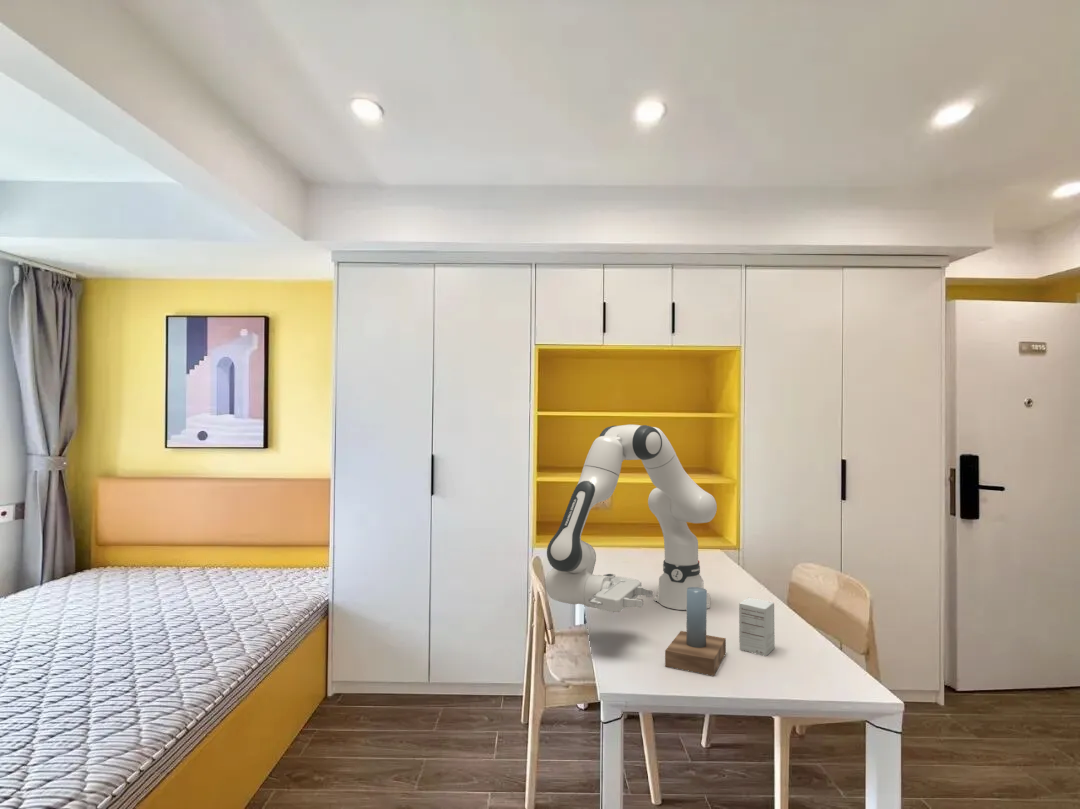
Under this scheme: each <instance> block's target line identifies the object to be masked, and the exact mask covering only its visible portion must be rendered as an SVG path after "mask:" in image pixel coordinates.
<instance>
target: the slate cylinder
mask: <svg viewBox="0 0 1080 809" xmlns="http://www.w3.org/2000/svg"><path fill="white" fill-rule="evenodd" d="M707 593H708V590H707V589H706V588H699V587H689V588H687V610H686V631H685V632H686V644H687V645H689V646H691V647H695V648H703V647H705V646H706V635H707V614H708V613H707V610H708V608H707Z"/></svg>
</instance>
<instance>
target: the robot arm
mask: <svg viewBox="0 0 1080 809" xmlns="http://www.w3.org/2000/svg"><path fill="white" fill-rule="evenodd" d="M624 460H625V461H631V460H632V461H635V460H636V461H638V460H641V463H642V464H643V467H644V469H645V471H646V473H647V475H648V477H649V478H650V481H651V483H652V485H654V486H655V488H653V489H652V490H651V491H650V493H649V495H648V499H647V504H648V505H647V506H648V508H649V511H651V513H652V514H653V515H654V516H655V518H656V519H657V521H658V524H659V526H660V529H661V532H662V536H663V545H664V560H663V562H662V571H663V573H662V574H661V575H660V576H659V577H658V589H657V590H658V592H657V595H655V596H654V593H655V592H654V590H653V589H649V588H646V587H643V586H642V581H640V580H639V579H634V578H632V577H631V578H630V577H625V576H616V574H615V573H606V574H603V575H602V574H593V572H594V570H595V565H596V561H597V554H596V551H595V548H594V547H593V546H592V545H591V544H590V543H588V542H586V541H584V540H582V533H583V529H584V527H585V525H586V522H587V519H588V516H589V513H590V511H591V510H592V508H593V507H594V506H595V505H597V504H598V503H601V502H604V501H607V500H608V499H610V498H611V497H612V495H613V493H614V492H615V490H616V487H617V485H618V482H619V477H620V474H621V470H622V463H623V461H624ZM717 506H718V505H717V501H716V499H715V497H714V496H713V495H712V494H711V493H709V492H708V491H706V490H704V489H703V488H702V487H700V486H699V485H698V484H697V483H696V482H695V481H694V479H692V477H691V476H689V474H688V473H687V472H686V471H685V469H684V467H683V465H682V463H681V462H680V459H679V457H678V456H677V453H676V451H675V449H674V447H673V445H672V444H671V442H670V440H669V439H668V437H667V435H665V433H664V431H662V430H661V429H660V428H659V427H656V426H651V425H646V424H644V425H643V424H641V425H639V424H623V425H611V426H607V427H605V428H604V429H603V430H602V431H601V433H600V434H599V436H598V437H596V438H595V440H594V441H593V442H592V444H591V446H590V449H589V450H588V453H587V455H586V458H585V461H584V464H583V467H582V470H581V474H580V477H579V480H578V483H577V485H576V486H575V488H574V490H573V492H572V494H571V496H570V500H569V502H568V505H567V508H566V510H565V512H564V515H563V517H562V520H561V522H560V526H559V527H558V530H557V531H556V532H555V534H554V535H553V537H552V538H551V539H550V541H549V542H548V544H547V548H546V557H547V560H548V563H549V565H550V566H551V567H552V569H550V571H548V572H547V573H546V576H545V580H544V587H545V591H546V594H547V595H548V597H549V598H550V599H552V600H554V601H556V602H560V603H564V604H567V605H568V604H569V605H583V606H584V607H589V608H593V609H597V610H600V611H605V612H610V613H620V612H621V611H622V610H624V609H625V608H642V607H643V606H644V600H643V599H642V598H637V597H638V596H644V597H646V598H649V599H650V598H652V597H653V601H655V602H656V601H657V603H658V604H660V605H662V606H663V607H665V608H668V609H673V610H679V611H687V588H689V587H699V588H704V579H703V578H702V575H701V566H700V560H699V542H698V541H699V540H698V538H697V536H696V535H695V534H694V533H693V532H692V531H691V529H690V528H689V526H688V523H692V524H704V523H709V522H711V521H712V520H713V519H714V518H715V516H716V513H717V510H718V509H717V508H718V507H717ZM704 589H705V588H704ZM710 608H711V594H710V593H708V592H707V609H710Z"/></svg>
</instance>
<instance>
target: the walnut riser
mask: <svg viewBox="0 0 1080 809" xmlns="http://www.w3.org/2000/svg"><path fill="white" fill-rule="evenodd" d="M726 640H727V638H726V637H720V636H715V635H708V634H706V646H705V647H703V648H695V647H691V646H689V645H687V644H686V631H684V630H680V631H679V632H678V634H677V635H676V636H675V637H674V638H673V640H672V641H671V642H670V644H669V645H668V646H667V647H666V649H665V650H664V652H665V653H664V654H665V656H664V665H665V666H666V668H670V667H673V668H672V669H675V668H678V669H677V670H680V669H683V670H682V671H685V670H689V671H688V672H690V671H693V672H692V673H696V672H699V673H698V674H701V673H703V674H702V675H706V674H708V676H711V675H713V677H714V676H715V674H716V673H717V671H718V669H719V667H720V665H721V663H722V662H723V660H722V659H724V658H725V656H724V655H726V654H725V653H727V652H726V651H727V650H726V649H727V646H726V643H727V642H726ZM723 657H724V658H723Z"/></svg>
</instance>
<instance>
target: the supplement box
mask: <svg viewBox="0 0 1080 809" xmlns="http://www.w3.org/2000/svg"><path fill="white" fill-rule="evenodd" d="M738 606H739V607H738V608H739V609H738V612H739V619H738V623H739V627H738V631H739V632H738V633H739V637H738V638H739V639H738V640H739V641H738V642H739V650H740V649H741V650H740V651H743V650H745V651H744V652H747V651H749V652H748V653H751V652H753V653H752V654H754V653H756V654H755V655H758V654H760V655H759V656H763V655H764V657H767V656H768V655H769V654H770V653H771V652H772V651H773V650H774V649H776V648H775V642H776V641H775V602H773V601H770V600H765V599H759V598H758V599H757V598H753V597H747V598H746V599H744V600H742V601H741V602H739V604H738Z"/></svg>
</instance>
